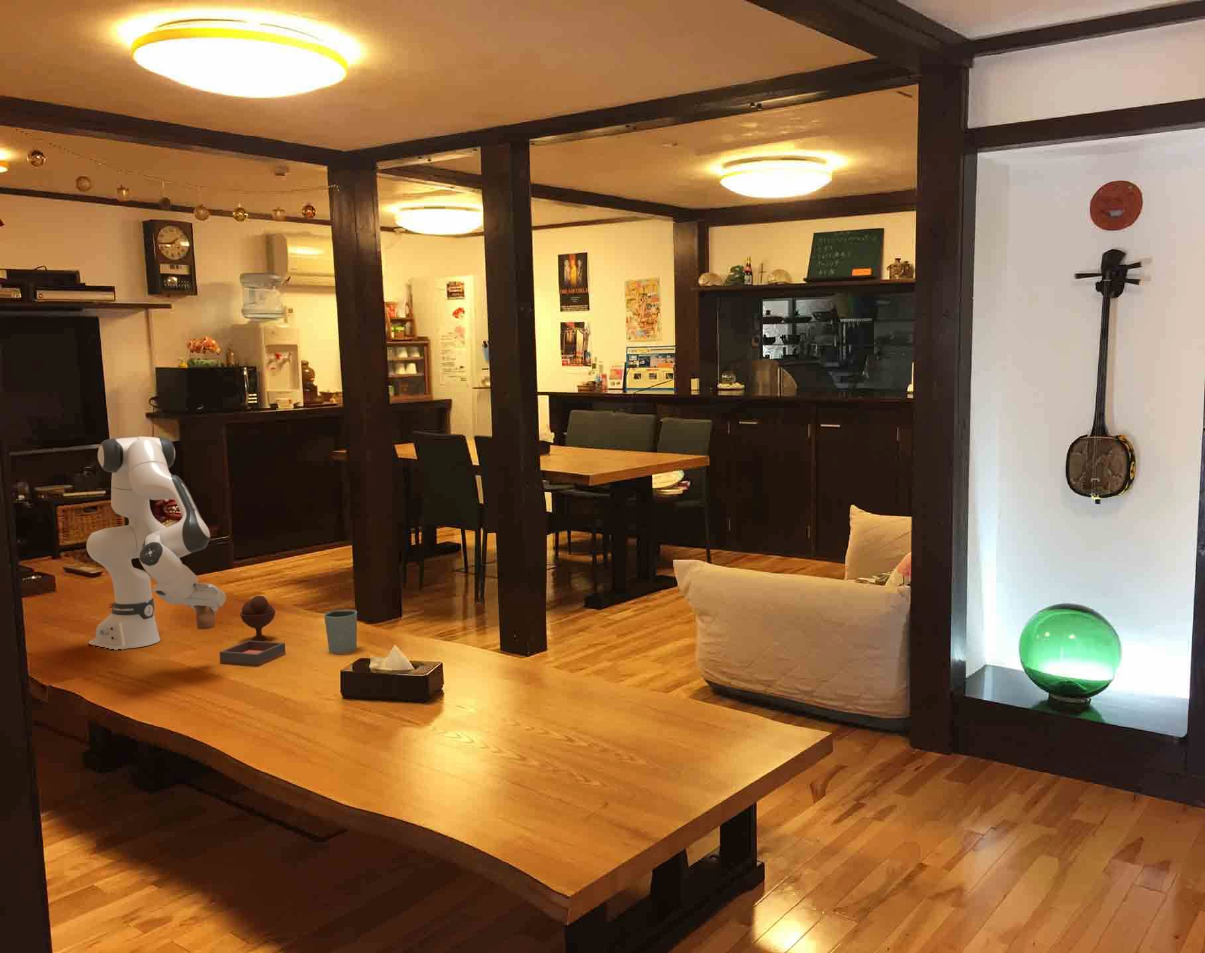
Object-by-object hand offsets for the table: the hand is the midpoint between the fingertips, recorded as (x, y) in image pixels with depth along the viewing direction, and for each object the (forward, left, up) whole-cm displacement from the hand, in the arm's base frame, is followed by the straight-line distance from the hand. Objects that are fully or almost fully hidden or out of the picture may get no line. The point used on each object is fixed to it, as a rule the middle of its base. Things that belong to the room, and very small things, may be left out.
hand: (206, 608), depth 309 cm
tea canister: (0, -1, -5) cm, 5 cm away
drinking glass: (+30, +24, -18) cm, 43 cm away
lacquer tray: (+8, +9, -17) cm, 21 cm away
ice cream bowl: (-4, +28, -18) cm, 34 cm away
